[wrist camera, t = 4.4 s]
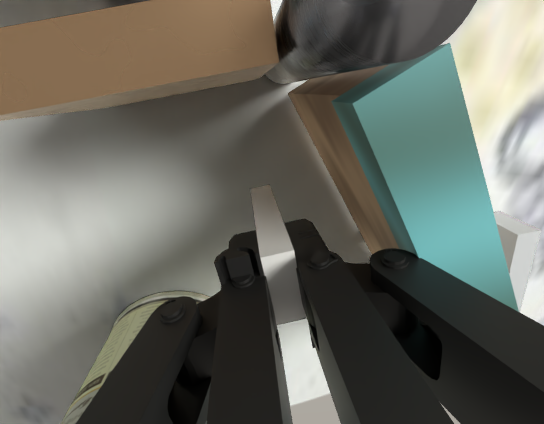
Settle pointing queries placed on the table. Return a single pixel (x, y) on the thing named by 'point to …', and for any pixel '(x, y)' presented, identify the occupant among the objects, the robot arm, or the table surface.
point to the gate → (409, 164)
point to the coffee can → (119, 347)
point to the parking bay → (517, 250)
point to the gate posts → (206, 48)
